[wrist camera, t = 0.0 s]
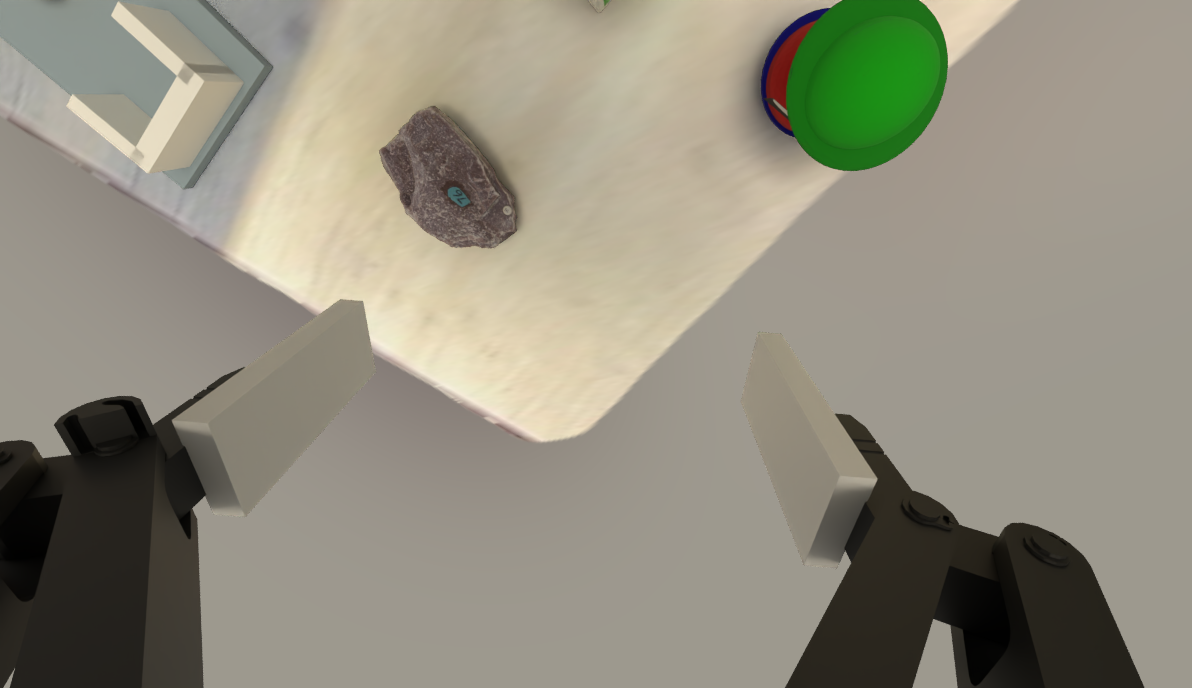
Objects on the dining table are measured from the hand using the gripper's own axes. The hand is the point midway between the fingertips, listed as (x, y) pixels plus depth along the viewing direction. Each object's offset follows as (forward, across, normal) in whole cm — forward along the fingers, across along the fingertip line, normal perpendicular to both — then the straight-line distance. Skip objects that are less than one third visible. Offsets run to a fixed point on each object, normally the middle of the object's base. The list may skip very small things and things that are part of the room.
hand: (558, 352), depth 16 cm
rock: (+28, -12, 0) cm, 31 cm away
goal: (+27, -34, +6) cm, 44 cm away
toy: (+28, +15, +9) cm, 33 cm away
